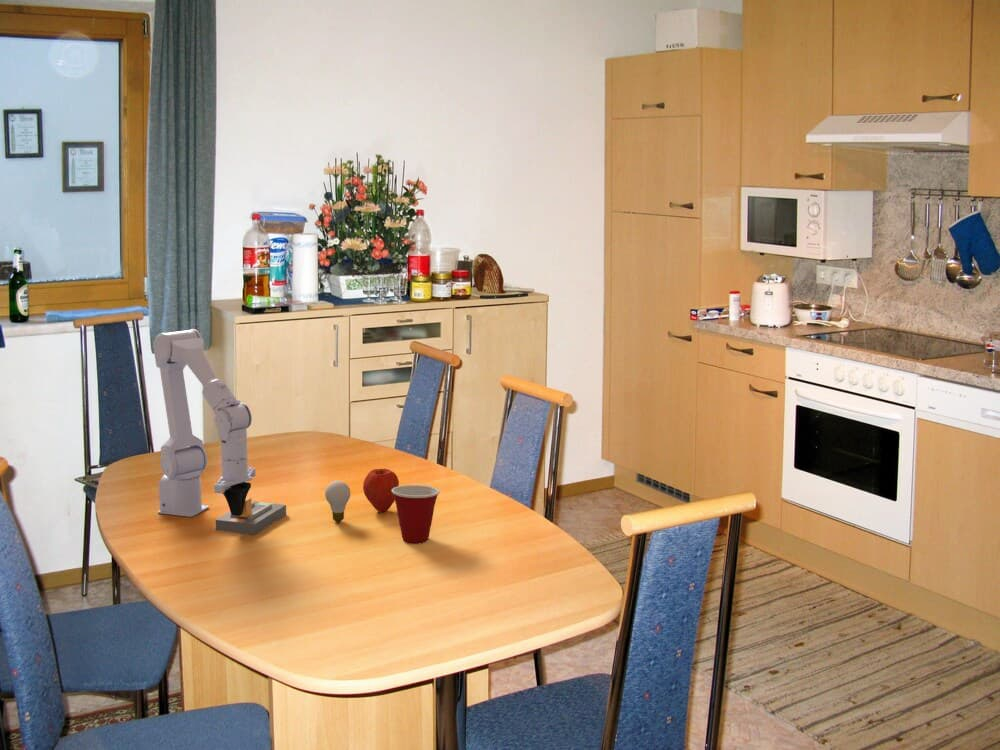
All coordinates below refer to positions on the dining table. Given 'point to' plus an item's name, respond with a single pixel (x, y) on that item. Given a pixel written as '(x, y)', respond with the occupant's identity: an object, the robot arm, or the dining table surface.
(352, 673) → the dining table surface
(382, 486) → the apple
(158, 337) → the robot arm
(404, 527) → the plastic cup
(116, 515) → the dining table surface
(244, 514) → the handle
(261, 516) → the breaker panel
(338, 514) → the light bulb
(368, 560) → the dining table surface
